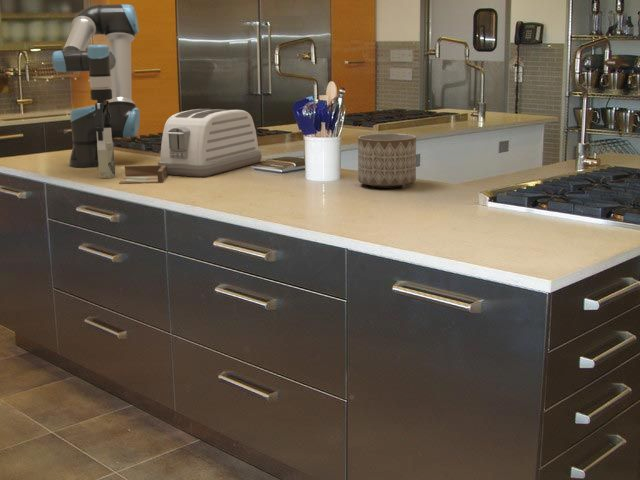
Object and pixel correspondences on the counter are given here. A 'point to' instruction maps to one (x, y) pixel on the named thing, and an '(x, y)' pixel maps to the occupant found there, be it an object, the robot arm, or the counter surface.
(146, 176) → the arena
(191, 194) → the counter surface
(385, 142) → the planter
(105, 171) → the box
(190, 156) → the toaster
